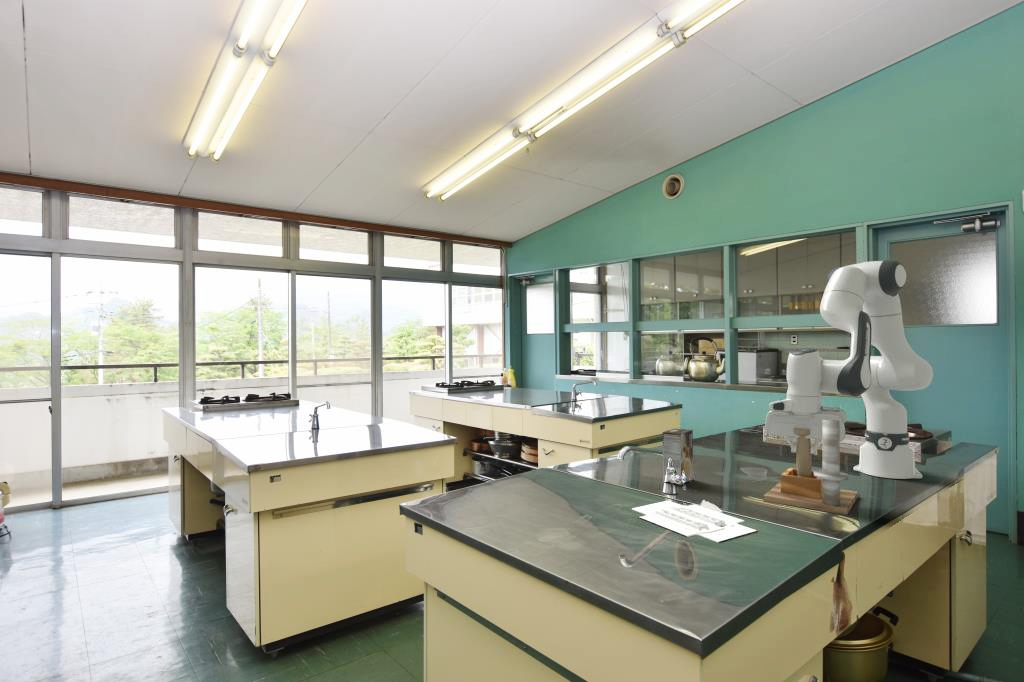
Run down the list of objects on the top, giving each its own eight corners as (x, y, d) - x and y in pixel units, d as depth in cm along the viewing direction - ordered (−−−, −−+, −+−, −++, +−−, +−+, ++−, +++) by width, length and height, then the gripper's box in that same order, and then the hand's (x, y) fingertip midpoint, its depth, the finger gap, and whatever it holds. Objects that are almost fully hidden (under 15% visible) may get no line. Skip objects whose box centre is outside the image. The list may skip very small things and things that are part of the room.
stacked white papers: (709, 549, 119) (708, 532, 120) (621, 518, 144) (621, 504, 144) (767, 531, 130) (766, 516, 130) (676, 505, 154) (676, 492, 154)
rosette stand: (781, 485, 167) (780, 409, 167) (857, 497, 155) (857, 414, 155) (762, 501, 151) (762, 417, 151) (846, 516, 139) (846, 423, 138)
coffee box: (674, 476, 179) (674, 427, 179) (693, 479, 175) (693, 429, 175) (662, 482, 172) (662, 431, 172) (681, 485, 168) (681, 433, 168)
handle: (790, 480, 156) (790, 428, 156) (800, 477, 160) (800, 426, 160) (807, 484, 152) (807, 430, 152) (817, 480, 156) (817, 428, 156)
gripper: (847, 406, 152) (848, 456, 152) (768, 401, 165) (769, 447, 165) (844, 409, 147) (844, 460, 147) (763, 403, 160) (763, 451, 160)
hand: (804, 453), depth 156 cm, fingers closed on handle, 3 cm apart
